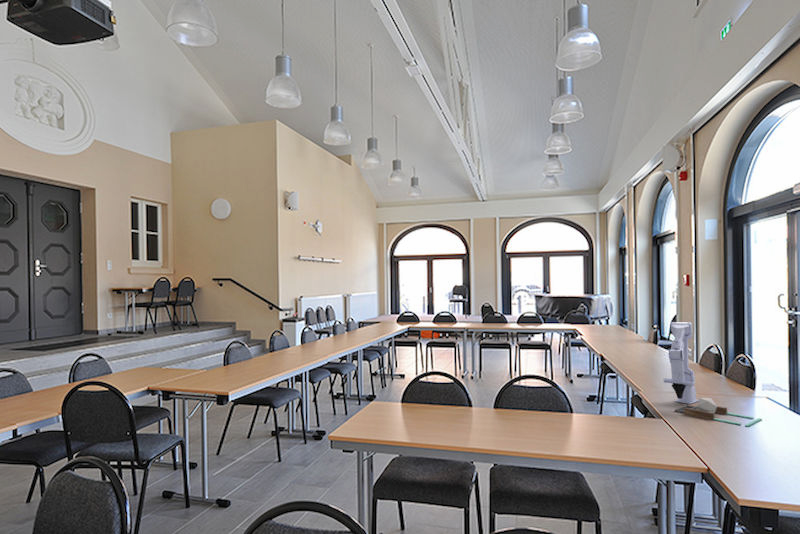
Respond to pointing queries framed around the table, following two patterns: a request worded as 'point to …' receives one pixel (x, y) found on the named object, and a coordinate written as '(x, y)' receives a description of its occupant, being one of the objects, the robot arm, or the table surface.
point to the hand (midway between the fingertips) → (679, 398)
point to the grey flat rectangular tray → (683, 408)
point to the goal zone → (739, 416)
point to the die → (706, 405)
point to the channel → (705, 414)
